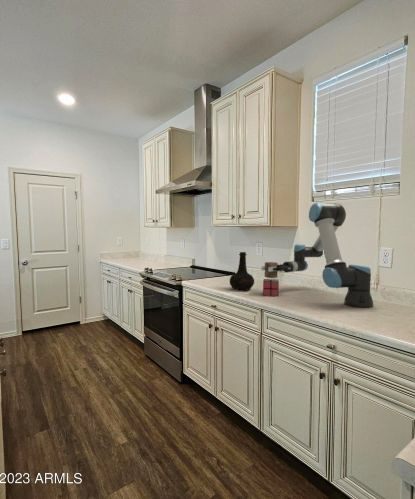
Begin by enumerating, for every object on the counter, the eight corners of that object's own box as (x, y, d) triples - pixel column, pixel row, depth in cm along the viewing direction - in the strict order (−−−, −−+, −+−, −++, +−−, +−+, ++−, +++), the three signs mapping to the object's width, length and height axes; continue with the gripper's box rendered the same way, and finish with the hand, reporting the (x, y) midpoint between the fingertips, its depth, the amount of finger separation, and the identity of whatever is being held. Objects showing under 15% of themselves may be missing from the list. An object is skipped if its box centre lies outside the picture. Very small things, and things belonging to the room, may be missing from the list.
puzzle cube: (278, 296, 197) (278, 281, 196) (263, 295, 199) (263, 281, 198) (277, 293, 207) (278, 279, 206) (263, 292, 209) (263, 278, 208)
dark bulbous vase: (224, 289, 220) (224, 251, 219) (239, 286, 233) (240, 250, 231) (243, 293, 208) (244, 253, 206) (258, 289, 220) (259, 252, 219)
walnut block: (277, 277, 201) (277, 262, 201) (270, 278, 198) (271, 263, 198) (271, 276, 206) (271, 261, 206) (264, 277, 203) (264, 262, 203)
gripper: (300, 273, 203) (275, 276, 191) (279, 270, 220) (255, 272, 208) (300, 262, 203) (275, 264, 191) (280, 260, 219) (255, 262, 207)
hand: (265, 268), depth 199 cm, fingers closed on walnut block, 6 cm apart
